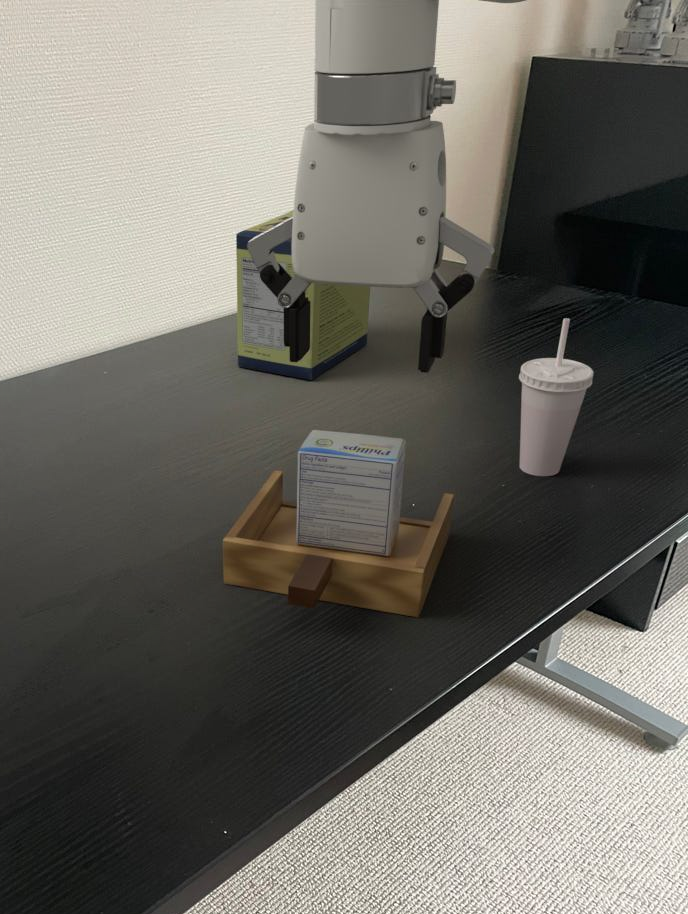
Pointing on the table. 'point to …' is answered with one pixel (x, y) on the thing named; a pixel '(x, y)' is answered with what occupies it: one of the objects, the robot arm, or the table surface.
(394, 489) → the medicine box
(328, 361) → the protein box
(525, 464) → the smoothie
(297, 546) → the wooden drawer
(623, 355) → the table surface
